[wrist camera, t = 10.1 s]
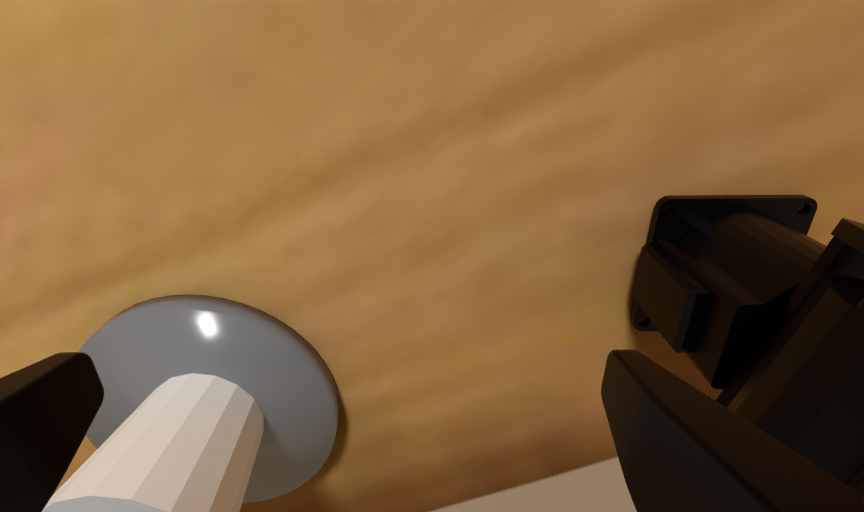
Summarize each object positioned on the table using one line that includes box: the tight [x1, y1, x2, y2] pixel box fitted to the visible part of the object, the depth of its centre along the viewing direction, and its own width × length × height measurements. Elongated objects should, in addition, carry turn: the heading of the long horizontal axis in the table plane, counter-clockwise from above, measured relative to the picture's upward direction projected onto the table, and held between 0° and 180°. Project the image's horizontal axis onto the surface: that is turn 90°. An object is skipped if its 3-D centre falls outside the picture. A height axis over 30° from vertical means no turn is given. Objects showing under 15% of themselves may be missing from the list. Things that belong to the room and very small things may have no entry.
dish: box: [79, 295, 340, 504], centre depth 23 cm, size 13×13×1 cm
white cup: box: [42, 373, 264, 512], centre depth 20 cm, size 7×7×7 cm
